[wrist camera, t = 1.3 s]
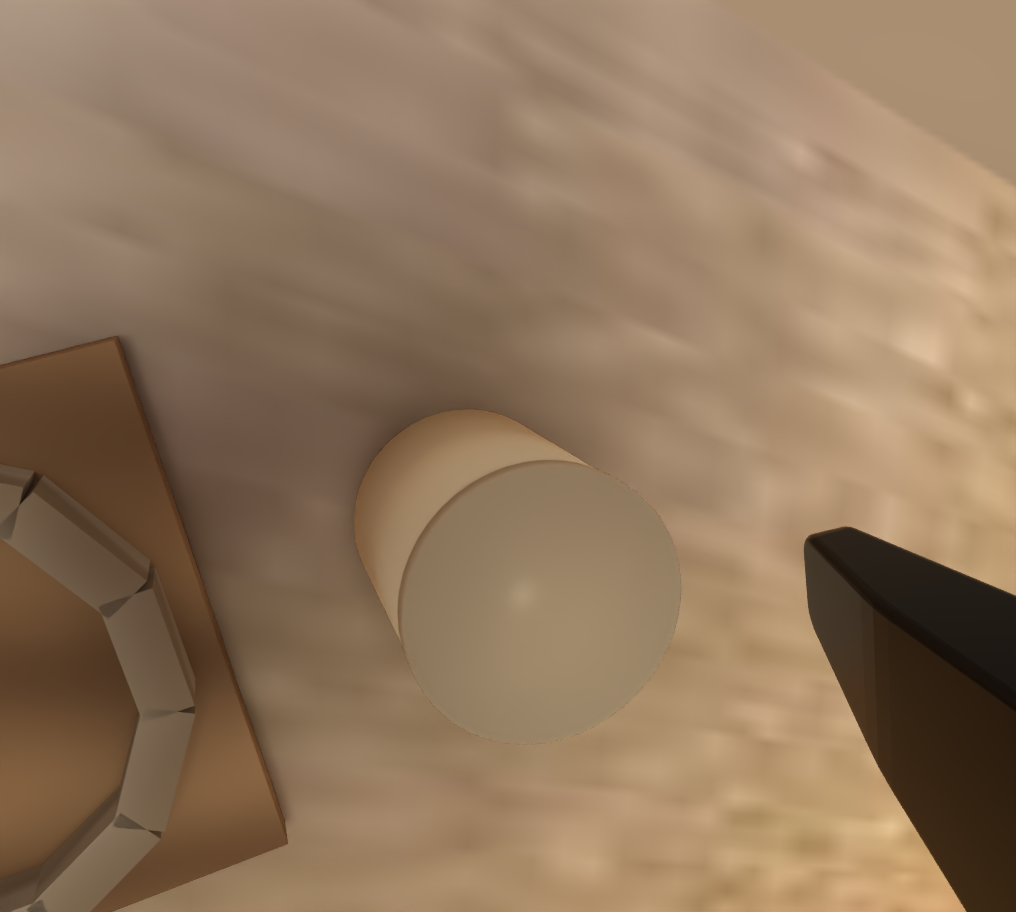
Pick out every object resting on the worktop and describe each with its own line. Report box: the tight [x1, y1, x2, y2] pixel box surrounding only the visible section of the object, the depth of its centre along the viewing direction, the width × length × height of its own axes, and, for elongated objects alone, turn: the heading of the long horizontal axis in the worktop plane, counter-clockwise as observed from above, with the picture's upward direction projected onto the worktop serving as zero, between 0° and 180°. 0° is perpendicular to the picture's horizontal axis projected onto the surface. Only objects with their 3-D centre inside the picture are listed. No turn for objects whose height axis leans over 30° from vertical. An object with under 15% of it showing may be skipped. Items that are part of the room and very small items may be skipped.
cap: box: [354, 409, 681, 745], centre depth 23 cm, size 6×6×7 cm
